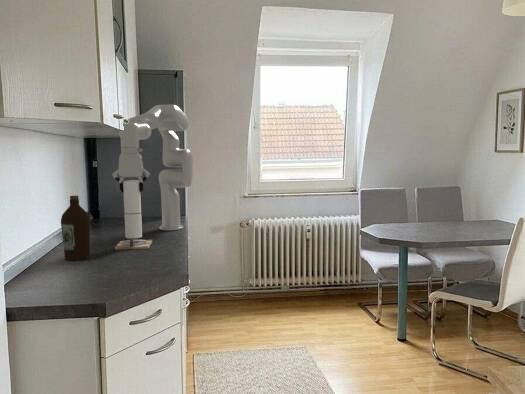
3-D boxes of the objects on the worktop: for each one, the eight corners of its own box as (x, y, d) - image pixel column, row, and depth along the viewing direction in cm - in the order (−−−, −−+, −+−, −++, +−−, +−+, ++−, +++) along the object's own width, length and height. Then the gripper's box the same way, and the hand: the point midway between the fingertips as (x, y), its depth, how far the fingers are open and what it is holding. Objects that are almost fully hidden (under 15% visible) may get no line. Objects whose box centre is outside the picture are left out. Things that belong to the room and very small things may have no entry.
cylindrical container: (141, 234, 210) (139, 180, 207) (142, 237, 203) (140, 181, 200) (125, 235, 208) (122, 180, 205) (125, 238, 201) (123, 181, 198)
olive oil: (79, 253, 191) (76, 194, 189) (97, 256, 186) (94, 195, 183) (57, 259, 182) (53, 196, 179) (75, 262, 177) (71, 198, 174)
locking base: (121, 242, 212) (120, 234, 212) (152, 241, 214) (151, 233, 213) (114, 249, 198) (114, 240, 198) (148, 248, 200) (147, 239, 199)
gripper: (151, 151, 206) (153, 190, 208) (111, 151, 204) (113, 191, 206) (149, 151, 198) (150, 192, 200) (107, 151, 197) (109, 193, 199)
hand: (131, 191), depth 203 cm, fingers closed on cylindrical container, 7 cm apart
